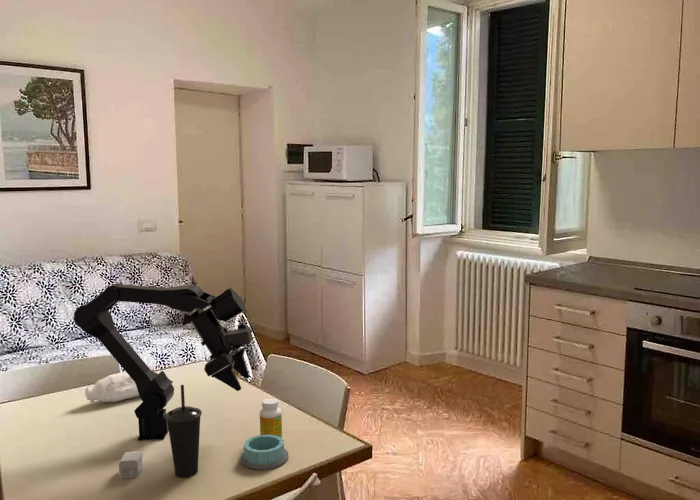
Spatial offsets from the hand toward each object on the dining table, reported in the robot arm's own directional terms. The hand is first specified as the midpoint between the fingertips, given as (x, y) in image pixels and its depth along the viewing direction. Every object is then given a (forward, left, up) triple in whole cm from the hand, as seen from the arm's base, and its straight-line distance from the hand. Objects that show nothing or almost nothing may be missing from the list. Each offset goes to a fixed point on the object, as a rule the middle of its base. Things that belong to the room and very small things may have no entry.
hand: (243, 383), depth 151 cm
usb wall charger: (-23, -18, -14) cm, 33 cm away
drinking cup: (-11, -18, -14) cm, 25 cm away
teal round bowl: (+6, -13, -13) cm, 20 cm away
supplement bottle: (+7, -2, -14) cm, 15 cm away
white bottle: (-38, +30, -14) cm, 50 cm away
